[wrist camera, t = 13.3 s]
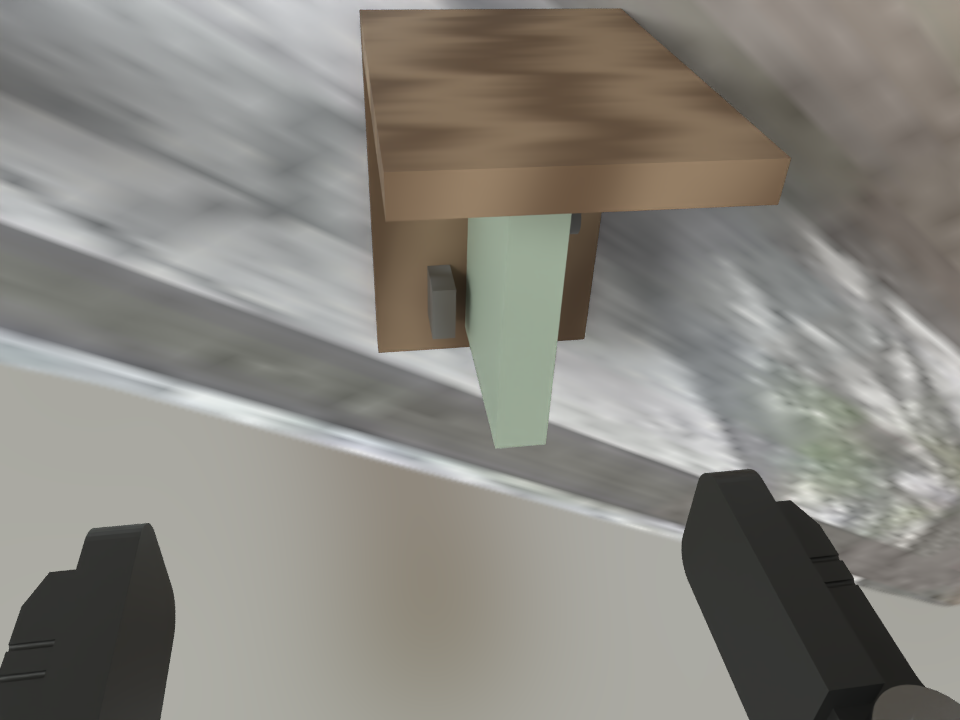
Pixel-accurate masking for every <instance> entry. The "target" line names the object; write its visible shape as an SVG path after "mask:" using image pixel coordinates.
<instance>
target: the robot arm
mask: <svg viewBox="0 0 960 720" xmlns="http://www.w3.org/2000/svg"><path fill="white" fill-rule="evenodd" d="M838 555H839V554H838V553H837V551H836V550H835V548H834V546H833V545H832V543H831V542H830V540H829V539H828V537H827V536H826V534H825V532H824V531H823V529H822V528H821V526H820V525H819V524H818V523H817V522H816V521H814V520H813V519H812V518H811V517H810V516H809V515H807V514H806V513H805V512H804V511H803V510H801V509H800V508H799V507H798V506H797V505H795V504H794V503H793V502H792V501H791V500H789V501H779V502H776V501H775V500H774V498H773V496H772V495H771V493H770V491H769V490H768V488H767V486H766V485H765V483H764V481H763V480H762V478H761V477H760V475H759V474H758V473H757V472H756V471H754V470H752V469H745V470H734V471H724V472H713V473H704V474H702V475H701V477H700V478H699V481H698V484H697V487H696V491H695V494H694V498H693V502H692V505H691V509H690V512H689V516H688V519H687V523H686V527H685V530H684V534H683V538H682V560H683V565H684V570H685V573H686V576H687V579H688V581H689V584H690V586H691V588H692V590H693V593H694V595H695V597H696V600H697V602H698V604H699V606H700V609H701V611H702V613H703V616H704V618H705V620H706V622H707V624H708V627H709V629H710V631H711V634H712V636H713V638H714V640H715V643H716V645H717V647H718V650H719V652H720V654H721V656H722V659H723V661H724V663H725V665H726V668H727V670H728V672H729V674H730V677H731V679H732V681H733V683H734V686H735V688H736V691H737V693H738V695H739V697H740V700H741V702H742V704H743V706H744V709H745V711H746V713H747V716H748V718H749V720H960V704H959V703H957V702H956V701H955V700H953V699H951V698H950V697H948V696H946V695H944V694H942V693H940V692H938V691H935V690H933V689H930V688H926V687H925V686H924V685H923V684H922V683H921V681H920V680H919V679H918V677H917V676H916V675H915V673H914V671H913V670H912V668H911V667H910V665H909V664H908V662H907V661H906V659H905V658H904V656H903V654H902V653H901V651H900V650H899V648H898V647H897V645H896V644H895V642H894V640H893V639H892V637H891V636H890V634H889V633H888V631H887V629H886V628H885V626H884V625H883V623H882V621H881V620H880V618H879V617H878V615H877V614H876V612H875V611H874V609H873V608H872V606H871V604H870V603H869V601H868V600H867V598H866V597H865V595H864V593H863V592H862V590H861V589H860V587H859V586H858V585H855V583H854V578H853V576H852V575H851V573H850V571H849V570H848V568H847V567H846V565H845V564H844V562H843V561H842V560H841V561H840V560H839V557H838ZM174 632H175V600H174V594H173V590H172V586H171V583H170V580H169V576H168V573H167V570H166V567H165V564H164V561H163V557H162V554H161V551H160V548H159V545H158V542H157V539H156V535H155V532H154V529H153V527H152V526H151V525H150V524H149V523H145V524H134V525H123V526H112V527H102V528H93V529H91V530H90V531H89V532H88V534H87V536H86V538H85V541H84V545H83V548H82V552H81V555H80V558H79V562H78V565H77V569H76V570H67V571H58V572H49V574H48V575H47V576H46V577H45V579H44V580H43V581H42V582H41V583H40V585H39V586H38V587H37V589H36V590H35V591H34V592H33V593H32V594H31V596H30V597H29V598H28V600H27V601H26V602H25V603H24V604H23V606H22V607H21V610H20V613H19V616H18V619H17V621H16V624H15V627H14V630H13V633H12V636H11V639H10V642H9V651H8V652H6V653H5V657H4V659H3V662H2V665H1V668H0V720H160V718H161V712H162V705H163V700H164V694H165V688H166V681H167V675H168V669H169V663H170V657H171V651H172V645H173V639H174Z"/></svg>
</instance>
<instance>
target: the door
mask: <svg viewBox="0 0 960 720" xmlns="http://www.w3.org/2000/svg"><path fill="white" fill-rule="evenodd" d="M580 227H581V213H572V214H549V215H526V216H502V217H479V218H468V238H467V275H466V312H465V328H466V332H467V336H468V340H469V344H470V348H471V352H472V356H473V360H474V364H475V368H476V373H477V377H478V381H479V385H480V389H481V393H482V397H483V401H484V405H485V409H486V413H487V417H488V421H489V425H490V429H491V433H492V437H493V441H494V445H495V449H496V448H508V447H520V446H532V445H543V444H546V437H547V428H548V419H549V410H550V401H551V393H552V384H553V375H554V366H555V357H556V348H557V339H558V330H559V322H560V313H561V304H562V295H563V286H564V277H565V268H566V259H567V250H568V242H569V234H578V233H579V231H580Z"/></svg>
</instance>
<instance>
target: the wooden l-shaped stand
mask: <svg viewBox="0 0 960 720" xmlns="http://www.w3.org/2000/svg"><path fill="white" fill-rule="evenodd" d="M360 27H361V45H362V64H363V82H364V101H365V119H366V138H367V156H368V175H369V193H370V212H371V230H372V249H373V267H374V286H375V304H376V323H377V341H378V351H379V353H384V352H399V351H414V350H429V349H444V348H459V347H470V344H469V340H468V336H467V332H466V328H465V312H466V275H467V238H468V218H479V217H502V216H526V215H549V214H572V213H581V227H580V231H579V233H578V234H569V242H568V250H567V259H566V268H565V277H564V286H563V295H562V304H561V313H560V322H559V330H558V339H557V341H564V340H579V339H584V338H585V330H586V323H587V316H588V308H589V301H590V294H591V286H592V279H593V272H594V265H595V257H596V250H597V243H598V235H599V228H600V221H601V213H602V212H618V211H642V210H665V209H688V208H711V207H734V206H758V205H778V203H779V200H780V196H781V193H782V189H783V185H784V182H785V178H786V175H787V171H788V168H789V164H790V161H791V158H790V157H789V156H788V155H787V154H786V153H785V152H783V151H782V150H781V149H780V148H779V147H778V146H777V145H775V144H774V143H773V142H772V141H771V140H770V139H769V138H767V137H766V136H765V135H764V134H763V133H762V132H761V131H760V130H758V129H757V128H756V127H755V126H754V125H753V124H752V123H750V122H749V121H748V120H747V119H746V118H745V117H744V116H742V115H741V114H740V113H739V112H738V111H737V110H736V109H734V108H733V107H732V106H731V105H730V104H729V103H728V102H727V101H725V100H724V99H723V98H722V97H721V96H720V95H719V94H717V93H716V92H715V91H714V90H713V89H712V88H711V87H709V86H708V85H707V84H706V83H705V82H704V81H703V80H701V79H700V78H699V77H698V76H697V75H696V74H695V73H694V72H692V71H691V70H690V69H689V68H688V67H687V66H686V65H684V64H683V63H682V62H681V61H680V60H679V59H678V58H676V57H675V56H674V55H673V54H672V53H671V52H670V51H668V50H667V49H666V48H665V47H664V46H663V45H662V44H661V43H659V42H658V41H657V40H656V39H655V38H654V37H653V36H651V35H650V34H649V33H648V32H647V31H646V30H645V29H643V28H642V27H641V26H640V25H639V24H638V23H637V22H635V21H634V20H633V19H632V18H631V17H630V16H629V15H628V14H626V13H625V12H624V11H623V10H622V9H449V10H360Z"/></svg>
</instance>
